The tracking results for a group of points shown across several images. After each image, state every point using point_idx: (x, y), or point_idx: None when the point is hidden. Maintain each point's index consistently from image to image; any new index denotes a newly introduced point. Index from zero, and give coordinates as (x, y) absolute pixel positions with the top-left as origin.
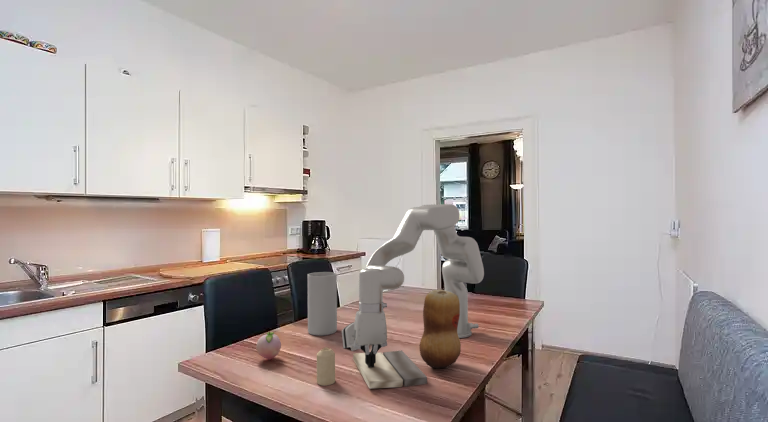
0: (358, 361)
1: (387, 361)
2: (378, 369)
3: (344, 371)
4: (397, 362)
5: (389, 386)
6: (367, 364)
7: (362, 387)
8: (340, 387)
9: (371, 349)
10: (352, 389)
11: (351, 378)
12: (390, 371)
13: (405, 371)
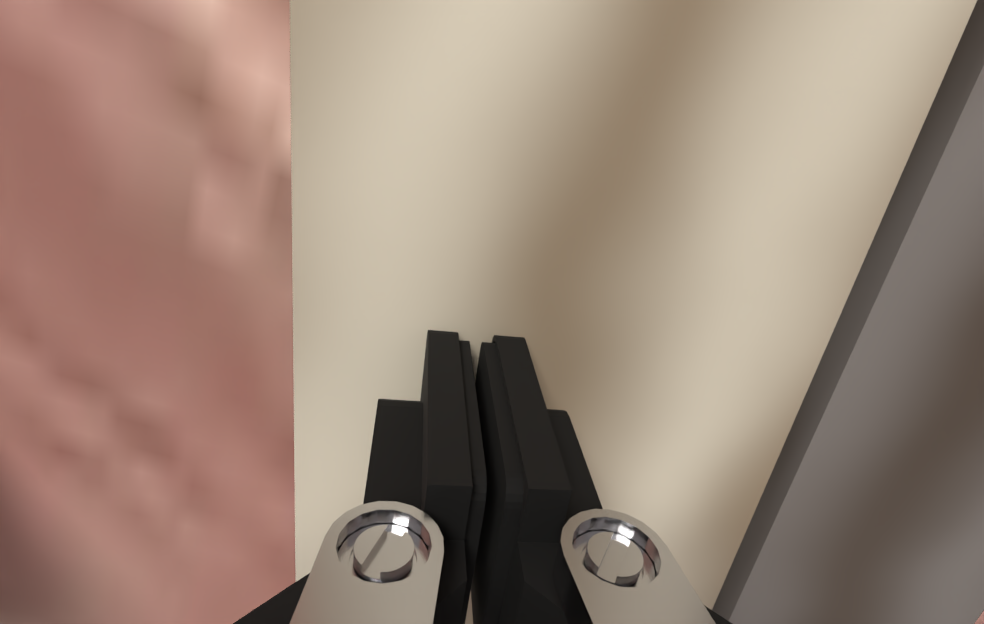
0: (297, 141)
1: (854, 246)
2: None
3: (63, 59)
4: (952, 344)
5: None
6: (422, 384)
7: (266, 590)
8: (7, 530)
9: (563, 564)
10: (150, 598)
11: (167, 361)
12: None
13: (814, 606)
